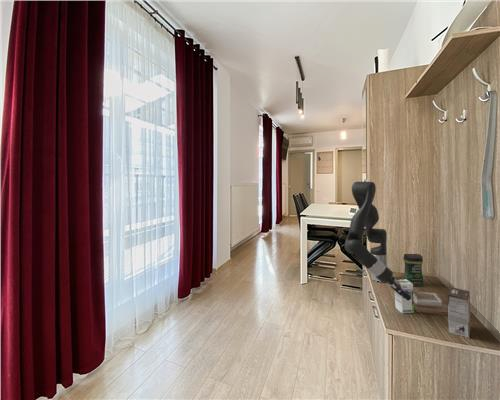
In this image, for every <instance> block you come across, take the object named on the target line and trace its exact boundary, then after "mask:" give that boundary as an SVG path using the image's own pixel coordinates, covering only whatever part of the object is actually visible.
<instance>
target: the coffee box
mask: <svg viewBox="0 0 500 400" xmlns="http://www.w3.org/2000/svg"><path fill="white" fill-rule="evenodd" d="M470 300H471V299H470V291H469V290H466V289H463V288H462V289H460V288H456V287H452V286H451V287H449V289H448V293H447V306H448V315H447V317H448V333H450V334H453V335H456V336H459V335H461V336H460V337H462V336H465V337H464V338H466V337H468V338H467V339H470V335H471V333H470V332H471V308H470V307H471V306H470V305H471V304H470V303H471V301H470Z"/></svg>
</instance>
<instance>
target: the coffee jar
mask: <svg viewBox="0 0 500 400" xmlns="http://www.w3.org/2000/svg"><path fill="white" fill-rule="evenodd" d="M423 259H424V258H423V255H421V254H419V253H404V255H403V259H402V260H403V263H404V274H403V280H405V279H406V280H408V281H410V282H411V283H413V287H422V286H423V285H424V276H423V269H422V267H423V263H424V260H423Z"/></svg>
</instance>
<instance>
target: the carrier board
mask: <svg viewBox="0 0 500 400" xmlns="http://www.w3.org/2000/svg"><path fill="white" fill-rule="evenodd" d="M435 294H436V296H437V297H438V298H439V299H440V300H441V302H442V308H432V307H423V306H417V305H416V303H415V301H414V311H416V312H417V313H426V314H433V315H441V316H442V315H443V316H448V304H446V302H445V301H444V300H443V299H442V297H440V295H439V294H438V293H435ZM418 299H421V298H418ZM422 300H432V299H422ZM432 301H434V300H432Z"/></svg>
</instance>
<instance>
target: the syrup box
mask: <svg viewBox="0 0 500 400" xmlns="http://www.w3.org/2000/svg"><path fill="white" fill-rule="evenodd" d="M396 281H397V282H398V283H399V285H400V286H401V288H402V289H403V290H404V291H405V292H406V293H407V294H408V295H409V296H410V297H411V299H410V300H409V301H408V300H406V299H405V298H404V297H403V296H402V295H401V296H400V295H399V294H398V293H397V292H396V291H395V290H394V297H395V298H394V301H395V309H397V310H398V311H399V312H400V313H401V314H414V313H415V308H414V296H413V291H414V286H413V283H411V282H410V281H408V280H406V279H405V280H404V279H396ZM399 285H398V286H399ZM399 292H401V290H399Z"/></svg>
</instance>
